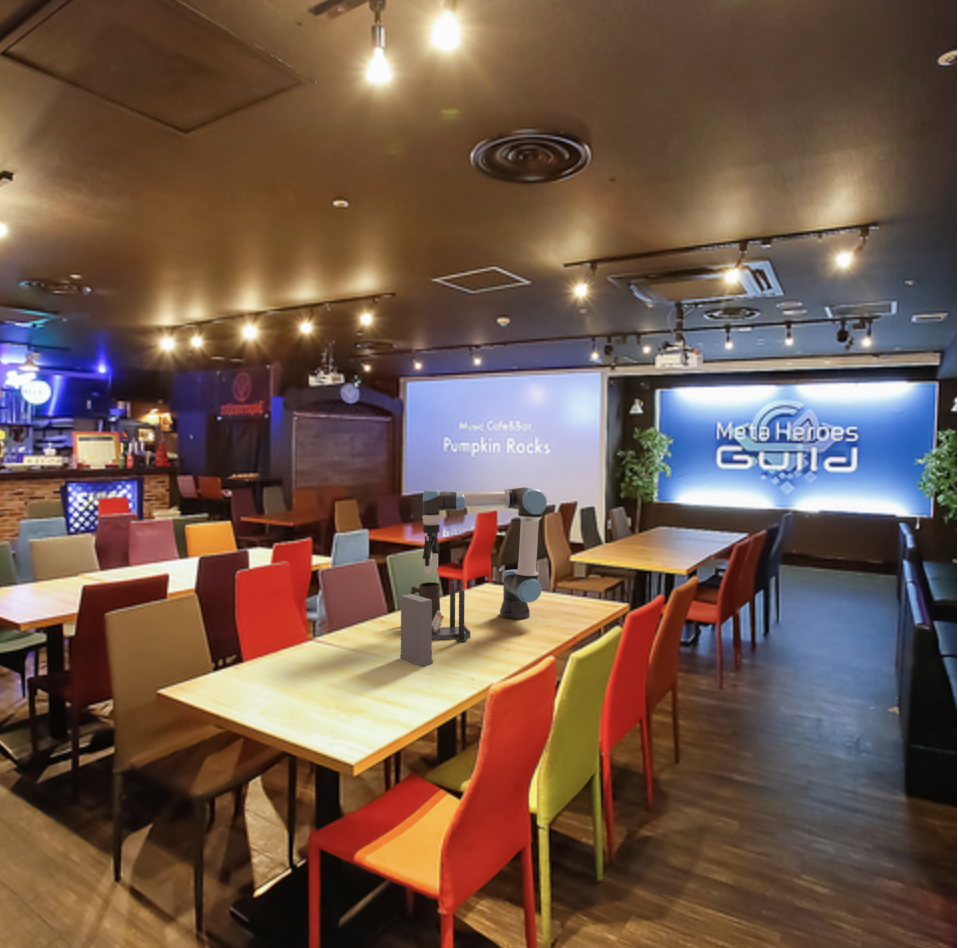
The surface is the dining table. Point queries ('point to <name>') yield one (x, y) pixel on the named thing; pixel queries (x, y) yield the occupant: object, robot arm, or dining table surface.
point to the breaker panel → (449, 633)
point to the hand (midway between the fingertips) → (431, 570)
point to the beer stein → (429, 594)
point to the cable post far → (452, 604)
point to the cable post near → (461, 617)
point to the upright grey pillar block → (416, 629)
